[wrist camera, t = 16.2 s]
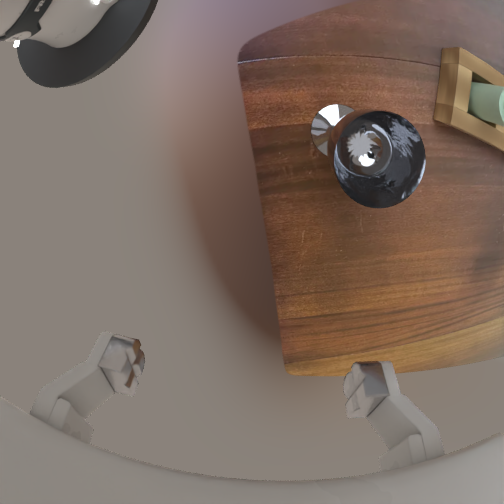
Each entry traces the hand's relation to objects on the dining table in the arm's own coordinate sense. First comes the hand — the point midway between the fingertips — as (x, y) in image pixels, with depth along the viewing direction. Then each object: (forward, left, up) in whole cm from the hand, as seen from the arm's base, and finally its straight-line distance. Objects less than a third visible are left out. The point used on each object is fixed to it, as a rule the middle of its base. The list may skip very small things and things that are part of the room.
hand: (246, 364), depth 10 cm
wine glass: (-5, +9, -29) cm, 31 cm away
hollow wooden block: (-16, +32, -29) cm, 46 cm away
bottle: (-16, +28, -29) cm, 43 cm away
